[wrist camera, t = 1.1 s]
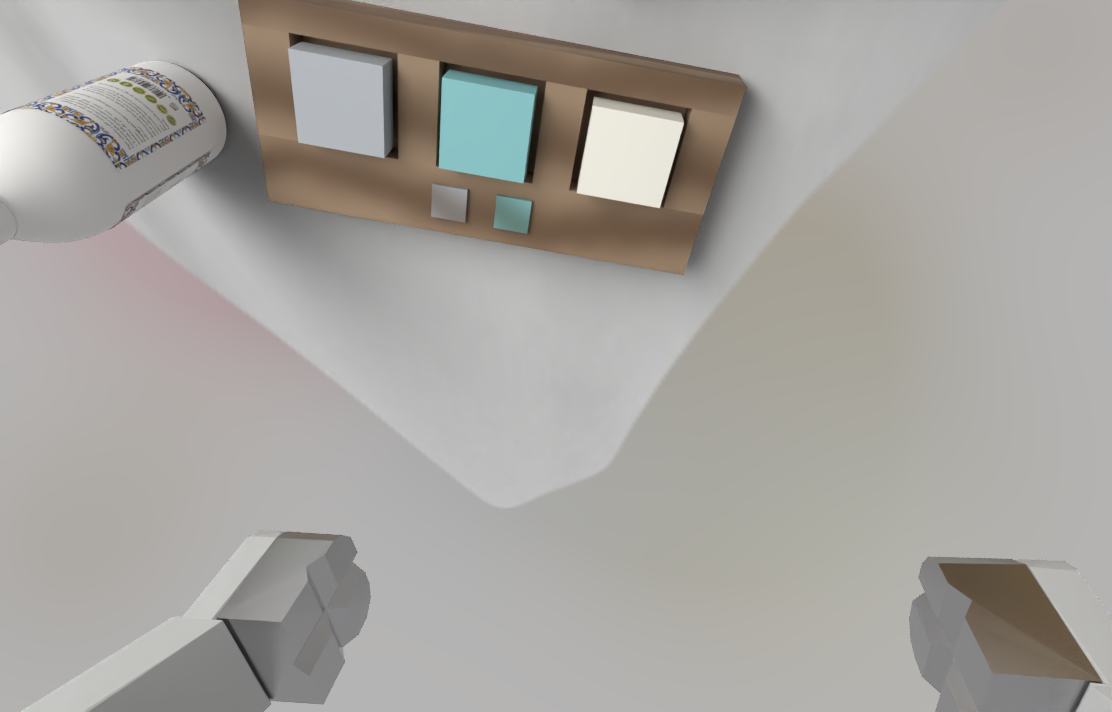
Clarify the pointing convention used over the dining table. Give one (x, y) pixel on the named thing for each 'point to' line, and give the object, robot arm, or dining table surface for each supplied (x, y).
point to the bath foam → (103, 151)
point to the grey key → (342, 99)
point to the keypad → (472, 200)
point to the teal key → (486, 125)
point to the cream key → (629, 152)
